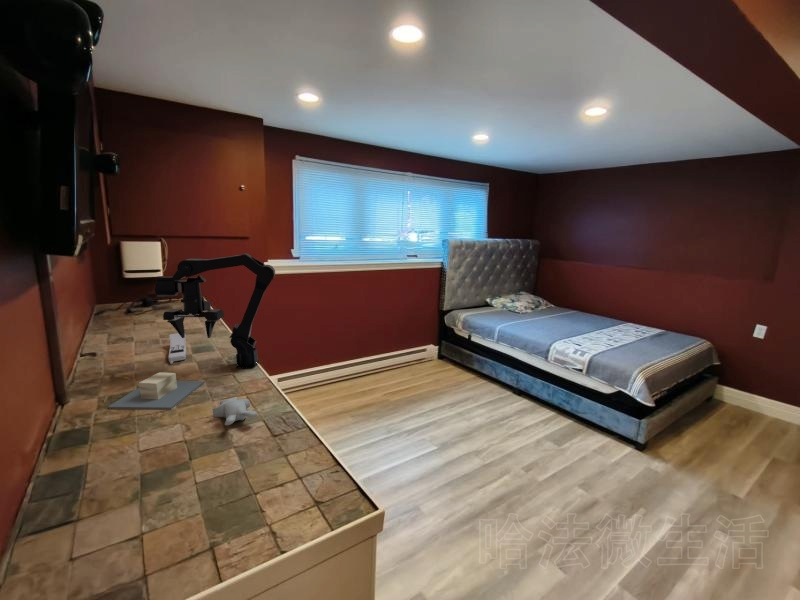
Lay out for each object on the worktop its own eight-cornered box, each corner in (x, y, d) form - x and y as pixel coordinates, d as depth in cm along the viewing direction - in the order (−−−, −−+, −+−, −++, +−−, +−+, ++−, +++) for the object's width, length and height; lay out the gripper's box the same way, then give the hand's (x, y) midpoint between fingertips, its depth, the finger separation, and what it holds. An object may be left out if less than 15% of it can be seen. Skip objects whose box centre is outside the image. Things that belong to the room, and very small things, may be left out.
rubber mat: (204, 382, 121) (204, 381, 121) (171, 409, 103) (170, 407, 103) (150, 382, 121) (150, 380, 121) (107, 408, 103) (107, 406, 103)
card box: (158, 399, 108) (156, 383, 107) (141, 398, 108) (139, 382, 107) (177, 387, 116) (175, 373, 115) (161, 386, 116) (159, 372, 115)
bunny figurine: (243, 390, 107) (260, 404, 95) (245, 407, 107) (262, 423, 96) (208, 399, 101) (221, 415, 89) (210, 417, 102) (223, 435, 90)
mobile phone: (185, 331, 159) (184, 348, 138) (187, 344, 160) (186, 362, 139) (169, 333, 156) (165, 350, 135) (171, 347, 157) (168, 365, 136)
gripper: (229, 291, 135) (232, 331, 138) (178, 291, 135) (183, 331, 138) (214, 297, 124) (218, 340, 127) (159, 296, 124) (164, 340, 127)
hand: (196, 337), depth 130 cm, fingers open, 9 cm apart
